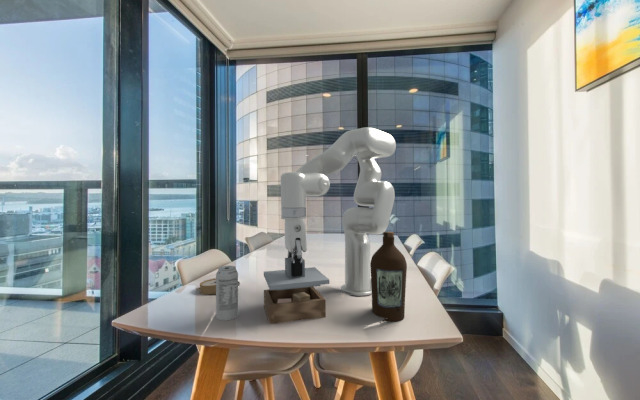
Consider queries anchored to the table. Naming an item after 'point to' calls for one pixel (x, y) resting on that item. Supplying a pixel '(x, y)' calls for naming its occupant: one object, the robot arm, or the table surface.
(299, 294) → the maple block
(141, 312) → the table surface
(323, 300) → the box
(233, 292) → the energy drink can
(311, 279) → the lid
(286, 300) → the terracotta block
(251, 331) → the table surface
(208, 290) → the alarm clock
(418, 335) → the table surface
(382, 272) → the olive oil
